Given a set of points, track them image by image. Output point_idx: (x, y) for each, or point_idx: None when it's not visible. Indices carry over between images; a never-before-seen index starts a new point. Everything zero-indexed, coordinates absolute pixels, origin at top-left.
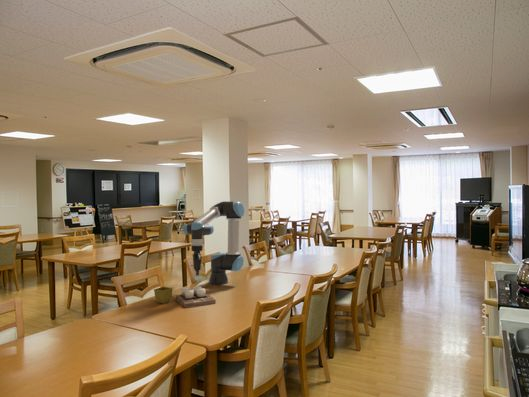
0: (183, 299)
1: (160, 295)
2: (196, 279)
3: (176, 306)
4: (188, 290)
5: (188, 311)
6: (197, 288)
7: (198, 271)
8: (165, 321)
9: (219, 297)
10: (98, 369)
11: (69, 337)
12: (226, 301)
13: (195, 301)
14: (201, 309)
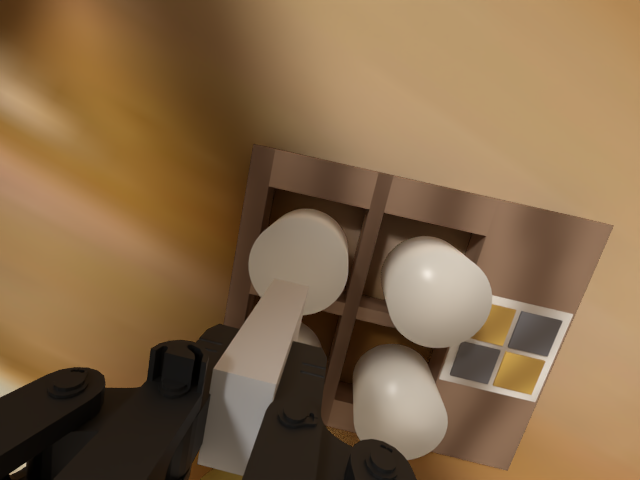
0: None
1: None
2: (298, 333)
3: (419, 467)
4: (384, 422)
5: (594, 473)
6: (341, 289)
7: (319, 413)
8: None
9: (445, 70)
10: None
11: None
12: (621, 100)
13: (527, 393)
14: (633, 391)
